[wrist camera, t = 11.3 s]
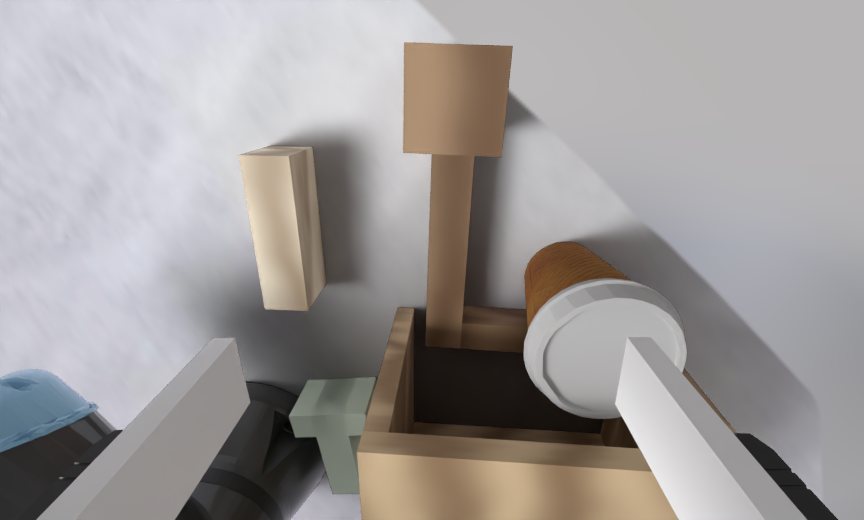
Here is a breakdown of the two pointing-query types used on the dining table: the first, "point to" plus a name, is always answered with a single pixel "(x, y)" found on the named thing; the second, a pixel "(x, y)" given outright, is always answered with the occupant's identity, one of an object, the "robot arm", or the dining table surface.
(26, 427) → the robot arm
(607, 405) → the disposable coffee cup
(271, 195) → the beech stick
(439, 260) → the crook
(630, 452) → the wooden storage bin
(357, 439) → the tee stick
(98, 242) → the dining table surface
